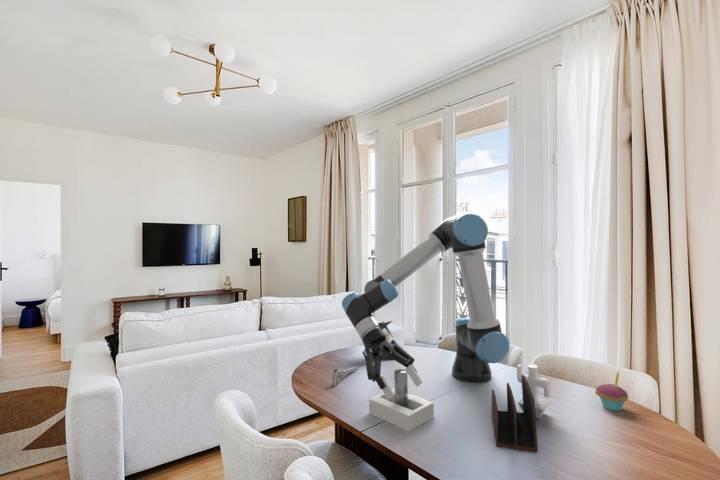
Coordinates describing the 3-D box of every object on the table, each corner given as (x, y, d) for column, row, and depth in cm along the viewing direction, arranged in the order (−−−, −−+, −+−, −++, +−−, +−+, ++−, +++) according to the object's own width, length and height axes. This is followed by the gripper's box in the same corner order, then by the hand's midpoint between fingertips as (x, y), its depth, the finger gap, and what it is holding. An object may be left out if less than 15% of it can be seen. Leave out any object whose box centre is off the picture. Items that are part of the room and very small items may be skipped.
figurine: (547, 423, 105) (546, 371, 106) (514, 413, 112) (513, 365, 112) (553, 414, 111) (552, 365, 111) (521, 405, 117) (520, 359, 117)
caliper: (335, 387, 135) (334, 370, 135) (332, 387, 135) (332, 370, 135) (357, 369, 154) (357, 354, 154) (355, 369, 154) (355, 354, 154)
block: (369, 413, 113) (369, 398, 113) (394, 401, 121) (394, 388, 121) (409, 431, 102) (408, 415, 102) (433, 417, 110) (433, 402, 110)
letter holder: (525, 417, 110) (524, 370, 110) (538, 453, 91) (536, 397, 91) (491, 413, 112) (490, 368, 113) (495, 447, 93) (494, 393, 94)
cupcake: (622, 403, 117) (622, 367, 117) (633, 415, 109) (632, 376, 109) (592, 400, 120) (591, 364, 120) (600, 411, 112) (599, 373, 112)
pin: (408, 408, 113) (407, 369, 113) (407, 414, 109) (406, 374, 109) (396, 406, 114) (395, 368, 114) (394, 412, 110) (393, 373, 110)
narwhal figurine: (361, 354, 174) (360, 317, 175) (392, 354, 174) (392, 317, 174) (360, 364, 160) (359, 323, 160) (394, 363, 160) (393, 323, 160)
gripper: (389, 333, 132) (423, 385, 120) (337, 347, 114) (371, 409, 103) (400, 321, 128) (436, 373, 117) (348, 333, 111) (385, 396, 99)
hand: (406, 390), depth 110 cm, fingers open, 13 cm apart
